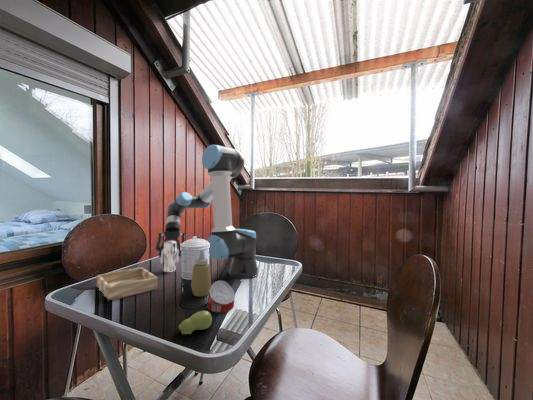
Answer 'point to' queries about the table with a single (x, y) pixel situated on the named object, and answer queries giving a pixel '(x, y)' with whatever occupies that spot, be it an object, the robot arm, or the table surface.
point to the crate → (126, 283)
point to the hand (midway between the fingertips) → (169, 262)
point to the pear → (196, 322)
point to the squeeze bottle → (201, 276)
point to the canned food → (220, 297)
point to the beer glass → (170, 255)
